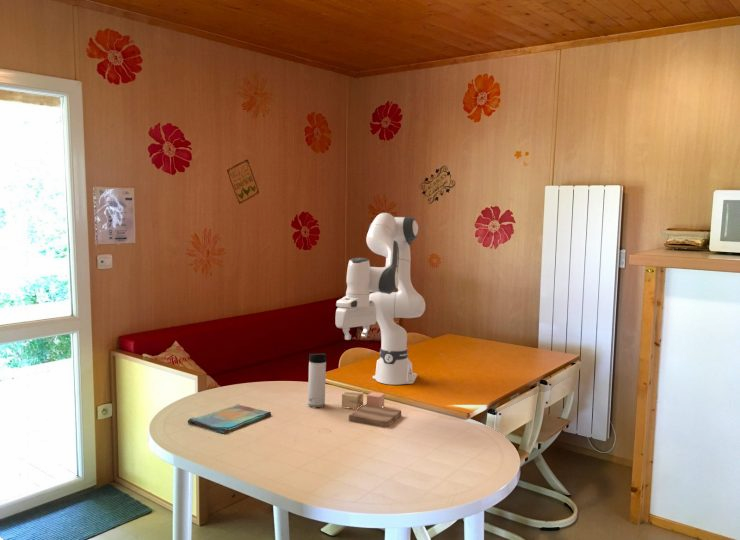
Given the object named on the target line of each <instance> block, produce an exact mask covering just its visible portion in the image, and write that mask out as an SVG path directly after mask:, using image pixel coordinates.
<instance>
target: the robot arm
mask: <svg viewBox="0 0 740 540" xmlns="http://www.w3.org/2000/svg"><path fill="white" fill-rule="evenodd" d="M418 233H419V225H418V222H417V220H416V219H415V218H414V217H412V216H394V215H392V214H391V213H388V212H381V213H379V214H378V215H376V217H375V218H374V219H373V220H372V222H371V223H370V224H369V226H368V232H367V234H366V238H365V239H366V240H365V241H366V245H367V247H368V249H369V250H371V252H372V253H374V254H376V255H379V256H383V257H384V258H385V265H384V266H382V267H380V266H379V267H378V266H371V264H370V260H369V259H368V258H366V257H354V258H351V259H349V260H348V264H347V271H346V286H347V287H346V291H345V295H344V296H343V297H342V298H339V299H338V300H336V303H335V306H336V307H337V308H336V310H335V317H334V318H335V320H334V321H335V322H334V323H335V326H336V328H338V329H342V332H343V334H344V340H346V341H349V340H351V339H352V334H350V332H349V331H350V330H351V329H350V328H357V327H362V328H363V330H362V332H361V335H360V337H361V338H367V337H368V332H369V330H370V326H373V325H375V324H376V323H377V324H378V326H379V329H380V338H381V340H380V341H381V342H380V343H381V345H380V346H381V347H380V349H379V358H378V359H377V360H376V366H375V367H376V368H375V374H373V375H372V379H374V380H375V381H376V382H378V383H380V384H385V385H391V386H393V385H396V386H397V385H398V386H399V385H407V384H408V385H409V384H410V385H412V384H414V383H415V382H416V379H417V377H418V374H417V373H415V372H413V363H412V362H411V360H410V359H409V358H408V357H409V352H410V348H408V347H407V343H408V333H407V331H406V329H405V328H404V327H403V326H401V325H399V324H398V323H396V322H395V321H394V318H395V319H396V318H400V319H402V318H403V319H413V318H420V317H421V316H422V315H424V313H425V311H426V301H425V299H424V297H423V295H421V294H420V293H418V292H417V290H416V289H415V288H414V286H413V284H412V280H411V279H412V278H411V247H410V245H411V244H413V242H414V241H415V240H416V239H417V236H418ZM396 290H397V291H396Z"/></svg>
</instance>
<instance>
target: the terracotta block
mask: <svg viewBox="0 0 740 540" xmlns="http://www.w3.org/2000/svg"><path fill="white" fill-rule="evenodd" d="M366 405H370V406H376V407H382V406H384V407H385V393H383V392H375V391H374V392H373V391H371V392H370V393H368V394H367V395H366Z"/></svg>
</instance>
